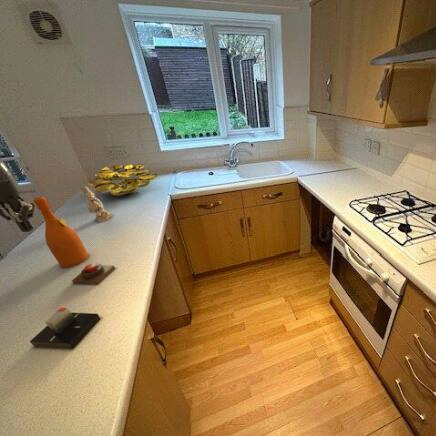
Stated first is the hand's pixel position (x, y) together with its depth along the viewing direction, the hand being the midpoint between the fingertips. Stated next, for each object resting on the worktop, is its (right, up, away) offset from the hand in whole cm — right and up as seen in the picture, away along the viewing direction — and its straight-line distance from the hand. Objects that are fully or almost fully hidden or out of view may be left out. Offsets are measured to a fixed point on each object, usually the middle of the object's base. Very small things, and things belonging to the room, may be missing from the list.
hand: (28, 230), depth 77 cm
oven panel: (+18, -31, -5) cm, 36 cm away
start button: (+8, -16, +15) cm, 23 cm away
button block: (+8, -19, +17) cm, 27 cm away
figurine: (-22, +3, +60) cm, 64 cm away
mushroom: (-33, +23, +97) cm, 105 cm away
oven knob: (+18, -28, -7) cm, 34 cm away
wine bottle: (-8, -15, +26) cm, 31 cm away
